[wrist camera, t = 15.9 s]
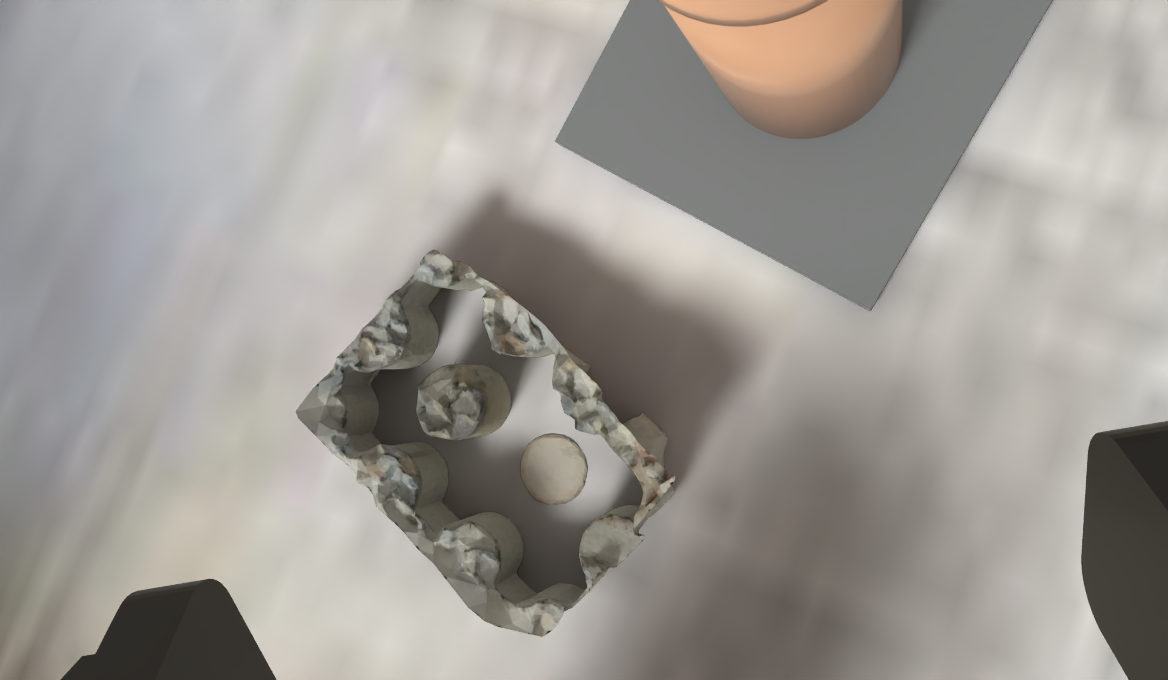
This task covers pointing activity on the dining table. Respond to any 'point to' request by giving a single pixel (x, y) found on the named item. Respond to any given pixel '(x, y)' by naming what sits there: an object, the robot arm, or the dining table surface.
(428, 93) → the dining table surface
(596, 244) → the dining table surface
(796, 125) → the peach column
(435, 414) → the egg carton
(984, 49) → the slate mat
